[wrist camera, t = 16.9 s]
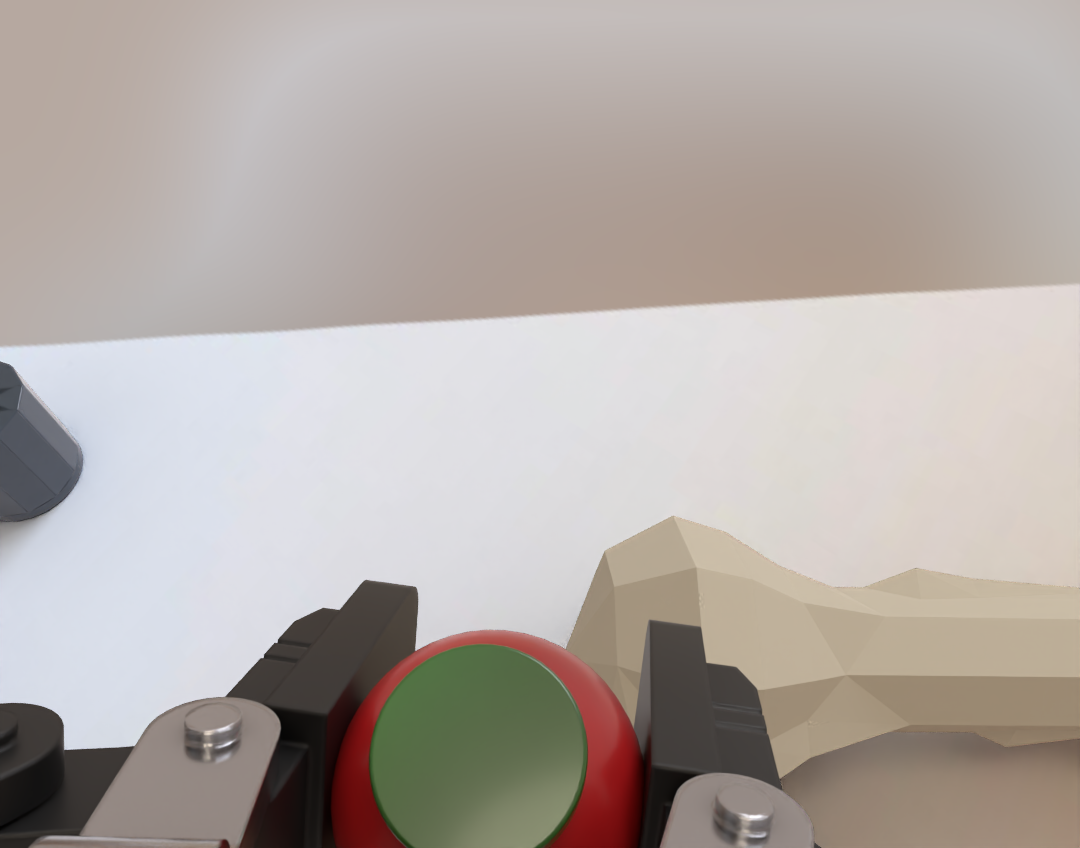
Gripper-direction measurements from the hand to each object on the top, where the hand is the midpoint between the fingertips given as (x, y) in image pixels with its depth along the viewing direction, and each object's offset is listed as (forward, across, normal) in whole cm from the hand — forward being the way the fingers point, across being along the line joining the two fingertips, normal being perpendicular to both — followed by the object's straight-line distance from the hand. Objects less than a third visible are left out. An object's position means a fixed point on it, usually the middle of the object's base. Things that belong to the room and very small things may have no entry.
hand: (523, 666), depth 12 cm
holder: (+21, +23, +6) cm, 31 cm away
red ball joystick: (+4, 0, +7) cm, 8 cm away
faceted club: (+17, -12, +9) cm, 23 cm away
